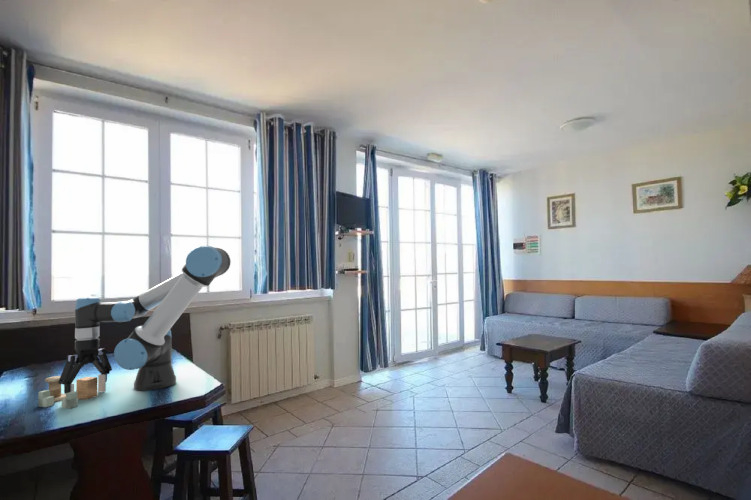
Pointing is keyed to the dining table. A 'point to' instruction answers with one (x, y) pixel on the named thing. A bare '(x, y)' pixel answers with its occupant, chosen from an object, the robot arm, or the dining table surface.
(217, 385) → the dining table surface
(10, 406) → the dining table surface
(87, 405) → the dining table surface
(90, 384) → the tan tall block
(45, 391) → the pair of stepped blocks
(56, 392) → the bobbin
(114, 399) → the dining table surface
